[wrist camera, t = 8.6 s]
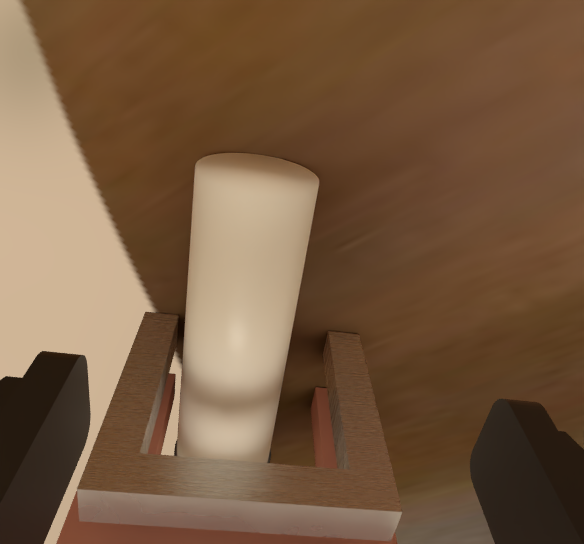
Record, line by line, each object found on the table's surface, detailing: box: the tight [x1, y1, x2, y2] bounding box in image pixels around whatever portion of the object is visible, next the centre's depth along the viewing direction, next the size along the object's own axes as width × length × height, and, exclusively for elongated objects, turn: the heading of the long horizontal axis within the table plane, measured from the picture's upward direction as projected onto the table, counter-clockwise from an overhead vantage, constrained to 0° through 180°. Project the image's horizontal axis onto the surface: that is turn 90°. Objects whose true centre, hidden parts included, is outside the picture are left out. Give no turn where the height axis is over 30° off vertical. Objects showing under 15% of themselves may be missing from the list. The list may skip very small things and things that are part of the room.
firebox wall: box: [57, 373, 397, 544], centre depth 22 cm, size 12×4×12 cm, turn 81°
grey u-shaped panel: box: [77, 312, 402, 541], centre depth 20 cm, size 10×2×10 cm, turn 81°
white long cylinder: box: [174, 153, 319, 463], centre depth 22 cm, size 16×5×5 cm, turn 171°
